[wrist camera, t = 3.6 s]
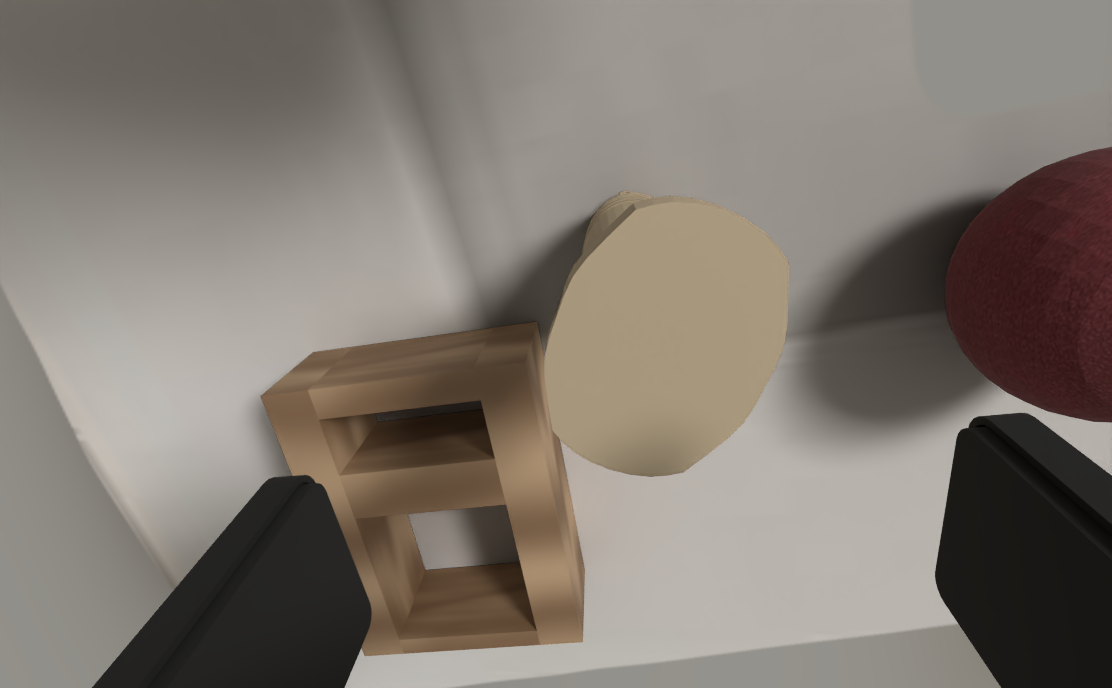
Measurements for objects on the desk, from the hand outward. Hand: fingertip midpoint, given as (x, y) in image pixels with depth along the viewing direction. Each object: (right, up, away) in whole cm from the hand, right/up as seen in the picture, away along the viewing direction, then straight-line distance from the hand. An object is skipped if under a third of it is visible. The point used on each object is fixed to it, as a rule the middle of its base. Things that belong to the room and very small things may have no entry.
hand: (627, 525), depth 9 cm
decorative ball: (+20, +7, +17) cm, 27 cm away
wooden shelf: (-7, -4, +23) cm, 25 cm away
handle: (+2, +8, +18) cm, 20 cm away
